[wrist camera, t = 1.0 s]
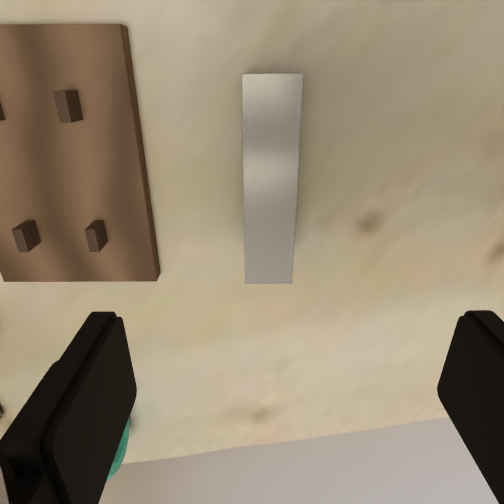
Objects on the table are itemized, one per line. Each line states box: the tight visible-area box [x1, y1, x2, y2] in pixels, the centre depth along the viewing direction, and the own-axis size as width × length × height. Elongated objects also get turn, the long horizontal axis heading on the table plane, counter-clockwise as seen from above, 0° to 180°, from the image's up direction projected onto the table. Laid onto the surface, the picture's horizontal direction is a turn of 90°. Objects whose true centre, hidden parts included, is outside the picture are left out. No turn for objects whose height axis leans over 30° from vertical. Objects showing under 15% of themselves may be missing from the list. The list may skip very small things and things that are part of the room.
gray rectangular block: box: [242, 73, 303, 284], centre depth 27 cm, size 4×14×7 cm, turn 0°
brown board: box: [0, 24, 160, 282], centre depth 28 cm, size 14×20×4 cm
